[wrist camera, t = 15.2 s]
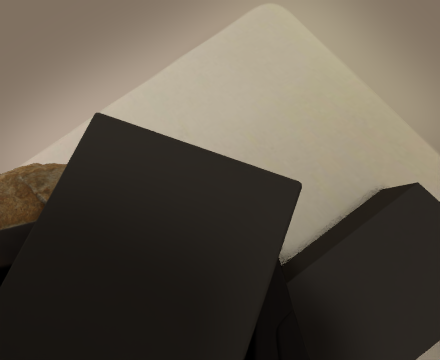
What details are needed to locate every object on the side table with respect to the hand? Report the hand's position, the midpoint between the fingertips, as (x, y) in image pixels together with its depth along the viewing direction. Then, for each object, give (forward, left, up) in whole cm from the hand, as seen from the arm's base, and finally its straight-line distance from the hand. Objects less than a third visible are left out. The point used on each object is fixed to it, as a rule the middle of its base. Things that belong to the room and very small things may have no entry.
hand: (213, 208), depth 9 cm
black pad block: (0, -1, -7) cm, 7 cm away
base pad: (+10, -4, -7) cm, 12 cm away
